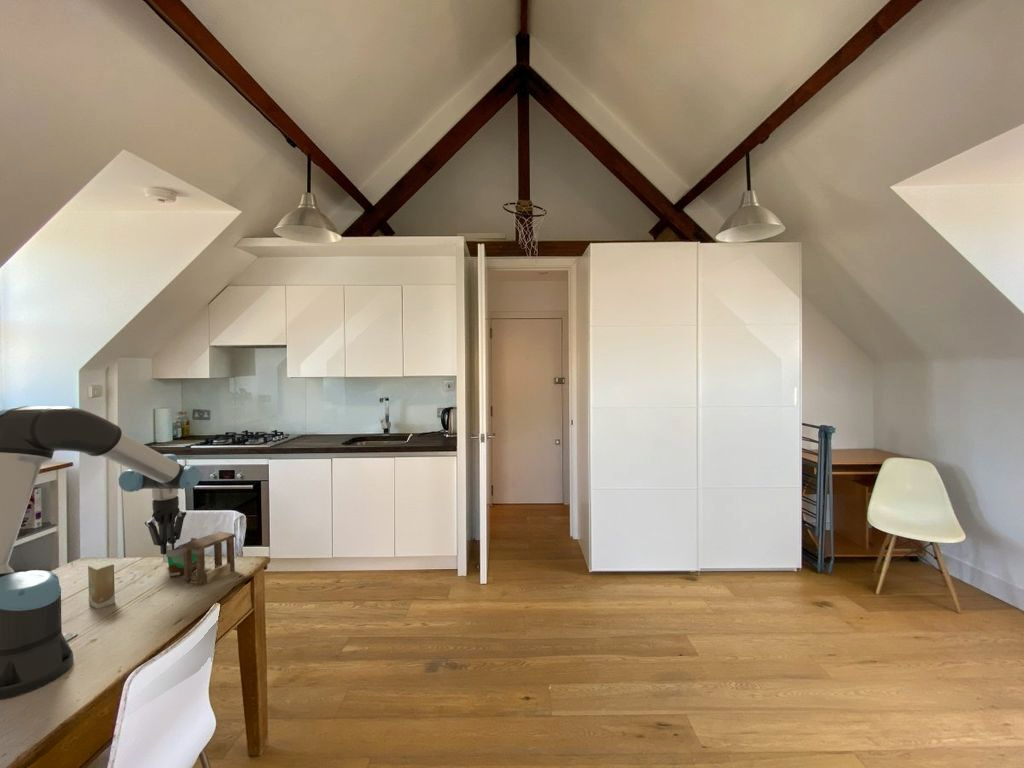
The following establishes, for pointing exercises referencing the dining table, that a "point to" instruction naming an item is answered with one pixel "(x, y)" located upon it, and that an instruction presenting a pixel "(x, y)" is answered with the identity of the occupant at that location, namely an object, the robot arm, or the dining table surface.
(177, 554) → the food container
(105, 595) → the skincare box
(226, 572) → the small wooden bench
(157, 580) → the dining table surface
